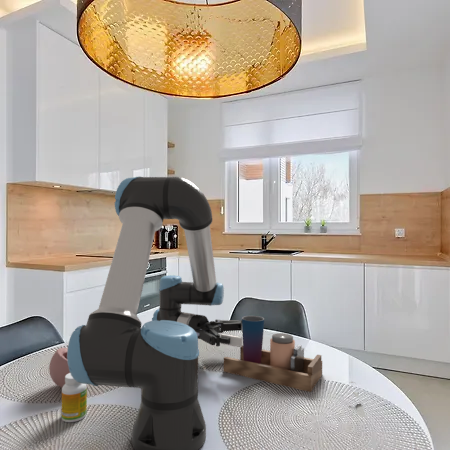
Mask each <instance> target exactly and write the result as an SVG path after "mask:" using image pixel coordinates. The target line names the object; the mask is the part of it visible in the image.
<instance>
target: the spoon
mask: <svg viewBox="0 0 450 450" xmlns="http://www.w3.org/2000/svg"><path fill="white" fill-rule="evenodd" d="M349 383H350V384H355V382H354V381H350V382H349ZM352 393H353V394H354V397H356V398H359V392H355V391H352ZM356 413H357V416H358V415H359V416H360V417H365V415H366V412H365V409H364V407H363V405H362V403H357V404H356ZM366 416H367V415H366Z"/></svg>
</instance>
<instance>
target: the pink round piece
mask: <svg viewBox="0 0 450 450" xmlns="http://www.w3.org/2000/svg"><path fill="white" fill-rule="evenodd" d="M67 351H68V347H60V348H58V349H56V351H55V352H54V354H53V355H52V356H51V358H50V361H49V368H48V369H49V370H48V372H49V375H50V378H51V380H52V382H53V383H54V384H55V385H56V386H58V388H59V387H60V388H61V389H62V387H63V386H64V385H65V384H66V383H65V376H66V375H67V374H69V373H70V371H69V366H68V361H67Z"/></svg>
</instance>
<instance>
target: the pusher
mask: <svg viewBox="0 0 450 450" xmlns="http://www.w3.org/2000/svg"><path fill="white" fill-rule="evenodd" d="M304 357H305V348H304V347H302V345H301V344H297V345H295V348H294V355H293V356H292V357H291V371H296V372H301V373H303V372H304Z"/></svg>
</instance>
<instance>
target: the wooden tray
mask: <svg viewBox="0 0 450 450" xmlns="http://www.w3.org/2000/svg"><path fill="white" fill-rule="evenodd" d="M239 350H240V351H239V352H240V354H239V355H240V357H239V359H238V358H234V357H230V356H224V357H223V372H224V373H228V374H232V375H236V376H241V377H245V378H250V379H253V380H257V381H261V382H262V381H263V382H266V383H270V384H274V385H279V386H282V387H287V388H290V389H291V388H292V389H297V390H300V391H305V392H309V393H312V391H313V390H314V388H315V386H316V385H317V384H318V382H319V381H320V380H321V377H322V376H323V360H322V355H321V354H316V355H315V357H314V358H310V357H305V356H304V372H303V373H301V372H296V371H291V370H287V369H282V368H277V367H272V366H270V350H268V349H263V348H262V356H261V364H258V363H254V362H249V361H244V359H243V345H242V347H239Z"/></svg>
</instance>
